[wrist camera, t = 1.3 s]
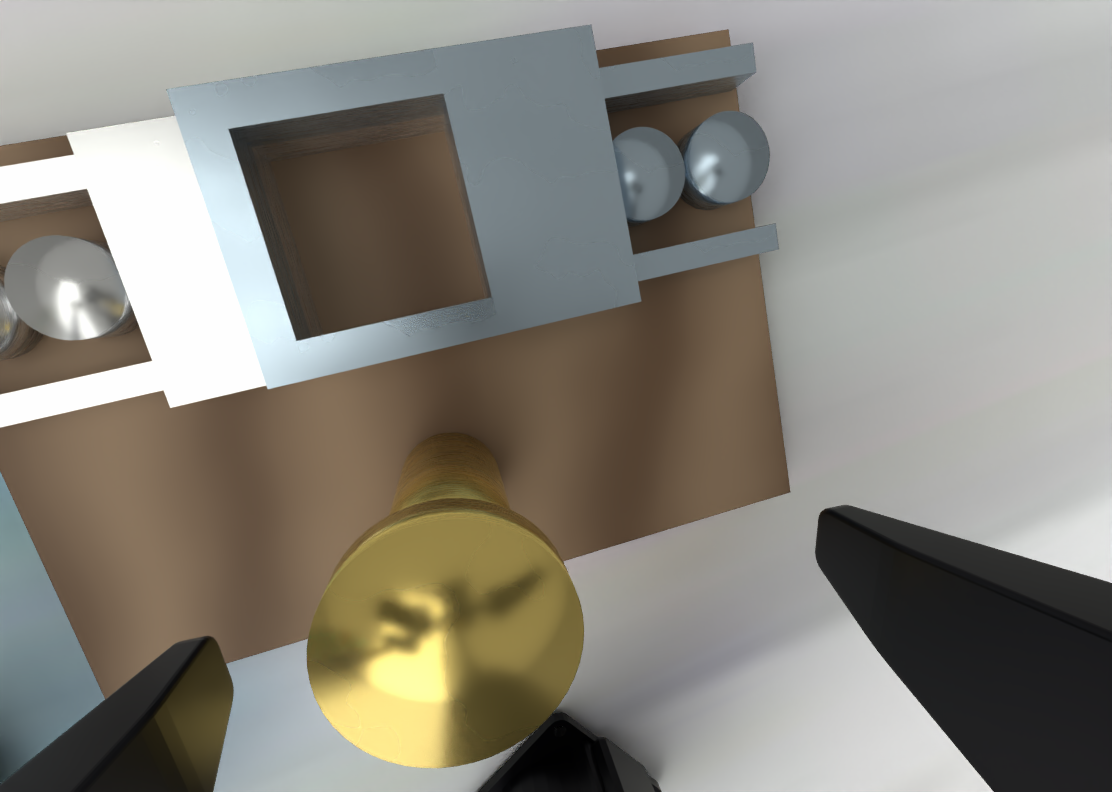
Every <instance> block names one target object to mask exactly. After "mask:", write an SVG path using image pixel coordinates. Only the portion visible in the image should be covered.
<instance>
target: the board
mask: <svg viewBox="0 0 1112 792" xmlns="http://www.w3.org/2000/svg"><path fill="white" fill-rule="evenodd" d="M729 46H731V45H730V37H729V30H721V31H715V32H709V33H703V34H696V35H690V36H684V37H678V38H671V39H665V40H659V41H653V42H646V43H640V44H634V45H628V46H621V47H615V48H609V49H603V50H596V54H597V59H598V65H599V68H602V67H608V66H614V65H620V64H626V63H633V62H639V61H645V60H651V59H657V58H663V57H669V56H675V55H681V54H687V53H693V52H699V51H705V50H711V49H717V48H723V47H729ZM723 111H738V112H739V105H738V97H737V90H736V88H735V89H733V90H732V91H729V92H724V93H718V94H713V95H707V96H701V97H696V98H690V99H685V100H679V101H673V102H668V103H662V104H657V105H651V106H645V107H640V108H634V109H629V110H623V111H617V112H612V113H607V115H608V120H609V126H610V131H611V137H612V141H613V140H614V139H615V138H616V137H617V136H618V135H620V134H621V133H623V132H624V131H626V130H629V129H631V128H635V127H650V128H654V129H657V130H659V131H661V132H663V133H664V134H666V135H667V136H668V137H669V138H671V139H672V140H673V142H674V143H675V144H676V145H677V144H678V142H679V141H680V140H681V138H682V137H683V136H684V135H686V134H687V133H688V132H690V131H691V130H692V129H694V128H695V127H697V126H698V125H699V124H701V123H702V122H704V121H705V120H706V119H708V118H709V117H711V116H712V115H714V114H716V113H719V112H723ZM69 155H74V153H73V150H72V148H71V145H70V142H69V140H68V137H67V135H65V136H59V137H53V138H46V139H40V140H34V141H28V142H21V143H15V144H9V145H3V146H0V167H3V166H9V165H15V164H21V163H27V162H33V161H39V160H45V159H51V158H57V157H63V156H69ZM271 166H272V169H273V172H274V175H275V178H276V182H277V185H278V188H279V191H280V195H281V198H282V201H283V204H284V208H285V211H286V214H287V217H288V221H289V224H290V227H291V230H292V234H293V237H294V240H295V243H296V246H297V250H298V253H299V256H300V259H301V263H302V266H303V269H304V272H305V276H306V279H307V282H308V285H309V289H310V292H311V295H312V298H313V302H314V305H315V308H316V311H317V314H318V318H319V321H320V324H321V327H322V331H323V334H327V333H332V332H336V331H341V330H345V329H350V328H354V327H359V326H363V325H367V324H372V323H376V322H381V321H385V320H390V319H394V318H399V317H403V316H408V315H412V314H417V313H421V312H426V311H430V310H434V309H439V308H443V307H448V306H452V305H457V304H461V303H466V302H470V301H475V300H479V299H484V298H485V296H484V292H483V288H482V284H481V280H480V276H479V271H478V267H477V263H476V259H475V255H474V251H473V247H472V242H471V238H470V234H469V230H468V226H467V222H466V218H465V214H464V209H463V205H462V201H461V197H460V193H459V189H458V185H457V180H456V176H455V172H454V168H453V164H452V160H451V156H450V152H449V147H448V143H447V139H446V135H445V131H443V132H438V133H432V134H426V135H420V136H415V137H409V138H403V139H398V140H392V141H386V142H381V143H375V144H369V145H363V146H358V147H352V148H346V149H341V150H335V151H329V152H324V153H318V154H312V155H307V156H301V157H295V158H289V159H284V160H278V161H272V162H271ZM753 228H755V224H754V217H753V209H752V202H751V195H750V196H748V197H747V198H745V199H742V200H740V201H737V202H734V203H731V204H728V205H725V206H723V207H720V208H717V209H713V210H701V209H697V208H694V207H692V206H690V205H688V204H687V203H686V202H685V201H683V200H682V199H681V197H679V199H678V201H677V202H676V204H675V205H674V206H673V207H672V208H671V209H670V210H669V211H668V212H667V213H665V214H663V215H662V216H660V217H657V218H655V219H653V220H650V221H648V222H645V223H643V224H640V225H637V226H632V227H628V230H629V236H630V241H631V247H632V252H633V255H635V254H639V253H644V252H648V251H653V250H657V249H662V248H667V247H671V246H676V245H680V244H685V243H689V242H694V241H698V240H703V239H707V238H712V237H716V236H721V235H725V234H730V233H734V232H739V231H743V230H748V229H753ZM51 235H61V236H69V237H75V238H81V239H86V240H92V241H98V242H104V243H108V242H107V240H106V237H105V235H104V232H103V229H102V227H101V224H100V221H99V219H98V216H97V214H96V211H95V208H94V206H93V205H91V206H85V207H80V208H74V209H68V210H63V211H57V212H52V213H46V214H40V215H35V216H29V217H24V218H18V219H12V220H7V221H1V222H0V266H2V267H5V268H6V266H7V264H8V262H9V260H10V258H11V257H12V255H13V254H14V253H15V252H16V251H17V249H18V248H20V247H21V246H22V245H24V244H25V243H27V242H29V241H31V240H33V239H36V238H39V237H43V236H51ZM638 285H639V291H640V296H641V302H637V303H633V304H629V305H625V306H620V307H616V308H612V309H608V310H603V311H599V312H595V313H590V314H586V315H582V316H578V317H573V318H569V319H565V320H561V321H556V322H552V323H548V324H544V325H539V326H535V327H531V328H527V329H522V330H518V331H514V332H510V333H505V334H501V335H497V336H493V337H488V338H484V339H480V340H476V341H471V342H467V343H463V344H459V345H454V346H450V347H446V348H442V349H437V350H433V351H429V352H425V353H420V354H416V355H412V356H408V357H403V358H399V359H395V360H391V361H386V362H382V363H378V364H373V365H369V366H365V367H361V368H356V369H352V370H348V371H344V372H339V373H335V374H331V375H327V376H322V377H318V378H314V379H310V380H305V381H301V382H297V383H293V384H288V385H284V386H280V387H276V388H271V389H267V386H262V387H257V388H253V389H249V390H245V391H240V392H236V393H232V394H227V395H223V396H219V397H215V398H210V399H206V400H202V401H198V402H193V403H189V404H185V405H180V406H176V407H172V408H170V406H169V403H168V400H167V398H166V395H165V392H164V390H162V391H157V392H153V393H149V394H144V395H140V396H135V397H131V398H127V399H122V400H118V401H114V402H109V403H105V404H101V405H96V406H92V407H87V408H83V409H79V410H74V411H70V412H66V413H61V414H57V415H52V416H48V417H44V418H39V419H35V420H31V421H26V422H22V423H18V424H13V425H9V426H4V427H0V472H1V474H2V476H3V478H4V480H5V482H6V485H7V487H8V489H9V491H10V493H11V495H12V498H13V500H14V502H15V504H16V506H17V508H18V511H19V513H20V515H21V517H22V519H23V521H24V524H25V526H26V528H27V530H28V532H29V535H30V537H31V539H32V541H33V543H34V545H35V548H36V550H37V552H38V554H39V556H40V558H41V561H42V563H43V565H44V567H45V569H46V571H47V574H48V576H49V578H50V580H51V582H52V584H53V587H54V589H55V591H56V593H57V595H58V597H59V600H60V602H61V604H62V606H63V608H64V611H65V613H66V615H67V617H68V619H69V621H70V624H71V626H72V628H73V630H74V632H75V634H76V637H77V639H78V641H79V643H80V645H81V647H82V650H83V652H84V654H85V656H86V658H87V660H88V663H89V665H90V667H91V669H92V671H93V674H94V676H95V678H96V680H97V682H98V684H99V687H100V689H101V691H102V693H103V695H104V697H105V699H106V698H108V697H109V696H110V695H111V694H113V693H114V692H115V691H116V690H118V689H119V688H120V687H121V686H123V685H124V684H125V683H126V682H128V681H129V680H130V679H131V678H132V677H134V676H135V675H136V674H137V673H139V672H140V671H141V670H142V669H144V668H145V667H146V666H147V665H149V664H150V663H151V662H152V661H154V660H155V659H156V658H157V657H158V656H160V655H161V654H162V653H163V652H165V651H166V650H167V649H168V648H170V647H171V646H172V645H174V644H175V643H177V642H179V641H183V640H188V639H193V638H198V637H202V636H211V637H214V638H215V640H216V641H217V643H218V644H219V647H220V650H221V652H222V655H223V658H224V660H225V663H229V662H233V661H236V660H239V659H243V658H246V657H249V656H252V655H256V654H259V653H262V652H266V651H269V650H272V649H275V648H279V647H282V646H285V645H289V644H292V643H295V642H299V641H302V640H305V639H308V637H309V631H310V628H311V624H312V621H313V617H314V614H315V612H316V610H317V607H318V605H319V603H320V601H321V598H322V596H323V594H324V591H325V589H326V587H327V584H328V582H329V580H330V578H331V575H332V573H333V571H334V569H335V567H336V566H337V564H338V563H339V561H340V559H341V558H342V556H343V555H344V553H345V552H346V551H347V550H348V549H349V547H350V546H351V545H352V544H353V543H354V542H355V541H356V540H357V539H358V538H359V537H360V536H361V535H362V534H363V533H364V532H365V531H366V530H368V529H369V528H370V527H372V526H373V525H375V524H376V523H377V522H379V521H380V520H382V519H384V518H385V517H387V516H389V514H390V511H391V507H392V504H393V500H394V497H395V493H396V489H397V486H398V482H399V479H400V475H401V472H402V469H403V465H404V463H405V461H406V459H407V457H408V455H409V454H410V453H411V451H412V450H413V449H414V448H415V447H416V446H417V445H418V444H420V443H421V442H422V441H424V440H426V439H427V438H429V437H432V436H434V435H438V434H442V433H462V434H465V435H469V436H471V437H474V438H475V439H477V440H479V441H480V442H482V443H483V444H484V445H485V446H486V447H487V448H488V449H489V450H490V451H491V453H492V454H493V456H494V458H495V460H496V462H497V465H498V468H499V472H500V475H501V479H502V482H503V485H504V489H505V492H506V496H507V499H508V502H509V506H510V509H511V510H513V511H514V512H516V513H518V514H520V515H522V516H524V517H525V518H526V519H528V520H529V521H530V522H532V523H533V524H535V525H536V526H537V527H538V528H539V529H540V530H541V531H542V532H543V533H544V534H545V535H546V536H547V537H548V538H549V540H550V541H551V542H552V544H553V545H554V546H555V548H556V549H557V551H558V553H559V555H560V556H561V558H562V560H563V561H565V560H569V559H572V558H575V557H579V556H582V555H585V554H588V553H592V552H595V551H598V550H602V549H605V548H608V547H611V546H615V545H618V544H621V543H625V542H628V541H631V540H635V539H638V538H641V537H644V536H648V535H651V534H654V533H658V532H661V531H664V530H667V529H671V528H674V527H677V526H681V525H684V524H687V523H691V522H694V521H697V520H700V519H704V518H707V517H710V516H714V515H717V514H720V513H723V512H727V511H730V510H733V509H737V508H740V507H743V506H747V505H750V504H753V503H756V502H760V501H763V500H766V499H770V498H773V497H776V496H779V495H783V494H786V493H789V492H790V486H789V478H788V471H787V463H786V456H785V448H784V441H783V433H782V426H781V418H780V411H779V403H778V396H777V389H776V381H775V374H774V366H773V359H772V351H771V344H770V336H769V329H768V321H767V314H766V306H765V299H764V291H763V284H762V276H761V269H760V261H759V254H756V255H751V256H747V257H743V258H738V259H734V260H729V261H725V262H721V263H716V264H712V265H708V266H703V267H699V268H695V269H690V270H686V271H681V272H677V273H673V274H668V275H664V276H660V277H655V278H651V279H646V280H642V281H638ZM151 361H152V358H151V356H150V353H149V350H148V348H147V345H146V342H145V340H144V337H143V335H142V332H141V329H140V327H139V328H137V329H136V330H134V331H132V332H130V333H127V334H124V335H121V336H114V337H105V338H95V339H85V340H62V339H56V338H53V337H50V336H47V335H44V334H43V336H42V338H41V340H40V341H39V343H38V344H37V345H36V346H35V347H34V348H33V349H31V350H30V351H29V352H27V353H25V354H24V355H21V356H19V357H16V358H12V359H7V360H0V395H1V394H6V393H10V392H15V391H19V390H24V389H28V388H33V387H37V386H42V385H46V384H51V383H56V382H60V381H65V380H69V379H74V378H78V377H83V376H87V375H92V374H96V373H101V372H105V371H110V370H114V369H119V368H123V367H128V366H132V365H137V364H142V363H146V362H151Z"/></svg>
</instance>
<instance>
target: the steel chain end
mask: <svg viewBox="0 0 1112 792" xmlns="http://www.w3.org/2000/svg"><path fill="white" fill-rule="evenodd" d="M443 131H445V135H446V139H447V143H448V147H449V152H450V156H451V160H452V164H453V168H454V172H455V176H456V180H457V185H458V189H459V193H460V197H461V201H462V205H463V209H464V214H465V218H466V222H467V226H468V230H469V234H470V238H471V242H472V247H473V251H474V255H475V259H476V263H477V267H478V271H479V276H480V280H481V284H482V288H483V292H484V296H485V298H488V295H487V290H486V286H485V282H484V278H483V274H482V270H481V265H480V261H479V257H478V253H477V249H476V245H475V241H474V236H473V232H472V228H471V224H470V220H469V216H468V211H467V207H466V203H465V199H464V195H463V191H462V187H461V182H460V178H459V174H458V170H457V166H456V162H455V157H454V153H453V149H452V145H451V141H450V137H449V133H448V128H447V124H446V120H445V116H444V114H442V115H436V116H431V117H425V118H419V119H413V120H407V121H401V122H395V123H390V124H384V125H378V126H372V127H366V128H360V129H354V130H349V131H343V132H337V133H331V134H325V135H319V136H314V137H308V138H302V139H296V140H290V141H284V142H278V143H273V144H267V145H261V146H255V147H252V150H253V153H254V156H255V160H256V163H257V166H258V169H259V172H260V176H261V179H262V182H263V185H264V188H265V191H266V195H267V198H268V201H269V204H270V207H271V211H272V214H273V217H274V220H275V223H276V226H277V230H278V233H279V236H280V239H281V242H282V246H283V249H284V252H285V255H286V258H287V262H288V265H289V268H290V271H291V274H292V277H293V281H294V284H295V287H296V290H297V293H298V297H299V300H300V303H301V306H302V309H303V312H304V316H305V319H306V322H307V325H308V328H309V332H310V335H311V337H315V336H320V335H324V334H323V331H322V327H321V324H320V321H319V318H318V314H317V311H316V308H315V305H314V302H313V298H312V295H311V292H310V289H309V285H308V282H307V279H306V276H305V272H304V269H303V266H302V263H301V259H300V256H299V253H298V250H297V246H296V243H295V240H294V237H293V234H292V230H291V227H290V224H289V221H288V217H287V214H286V211H285V208H284V204H283V201H282V198H281V195H280V191H279V188H278V185H277V182H276V178H275V175H274V172H273V169H272V166H271V162H272V161H278V160H284V159H289V158H295V157H301V156H307V155H312V154H318V153H324V152H329V151H335V150H341V149H346V148H352V147H358V146H363V145H369V144H375V143H381V142H386V141H392V140H398V139H403V138H409V137H415V136H420V135H426V134H432V133H438V132H443ZM66 135H67V137H68V140H69V142H70V145H71V148H72V150H73V153H74V155H69V156H63V157H57V158H51V159H45V160H39V161H33V162H27V163H21V164H15V165H9V166H3V167H0V222H1V221H7V220H12V219H18V218H24V217H29V216H35V215H40V214H46V213H52V212H57V211H63V210H68V209H74V208H80V207H85V206H91V205H93V206H94V208H95V211H96V214H97V216H98V219H99V221H100V224H101V227H102V229H103V232H104V235H105V237H106V240H107V242H108V243H104V242H98V241H92V240H86V239H81V238H75V237H69V236H61V235H51V236H43V237H39V238H36V239H33V240H31V241H29V242H27V243H25V244H24V245H22V246H21V247H20V248H18V249H17V251H16V252H15V253H14V254H13V255H12V257H11V258H10V260H9V262H8V264H7V266H6V268H5V267H2V266H0V360H7V359H12V358H16V357H19V356H21V355H24V354H25V353H27V352H29V351H30V350H31V349H33V348H34V347H35V346H36V345H37V344H38V343H39V341H40V340H41V338H42V336H43V334H44V335H47V336H50V337H53V338H56V339H62V340H85V339H95V338H105V337H114V336H121V335H124V334H127V333H130V332H132V331H134V330H136V329H137V328H139V327H140V329H141V332H142V335H143V337H144V340H145V342H146V345H147V348H148V350H149V353H150V356H151V358H152V361H151V362H146V363H142V364H137V365H132V366H128V367H123V368H119V369H114V370H110V371H105V372H101V373H96V374H92V375H87V376H83V377H78V378H74V379H69V380H65V381H60V382H56V383H51V384H46V385H42V386H37V387H33V388H28V389H24V390H19V391H15V392H10V393H6V394H1V395H0V427H4V426H9V425H13V424H18V423H22V422H26V421H31V420H35V419H39V418H44V417H48V416H52V415H57V414H61V413H66V412H70V411H74V410H79V409H83V408H87V407H92V406H96V405H101V404H105V403H109V402H114V401H118V400H122V399H127V398H131V397H135V396H140V395H144V394H149V393H153V392H157V391H162V390H164V392H165V395H166V398H167V400H168V403H169V406H170V408H172V407H176V406H180V405H185V404H189V403H193V402H198V401H202V400H206V399H210V398H215V397H219V396H223V395H227V394H232V393H236V392H240V391H245V390H249V389H253V388H257V387H262V386H266V383H265V380H264V377H263V374H262V371H261V368H260V365H259V362H258V359H257V356H256V353H255V350H254V347H253V344H252V341H251V338H250V335H249V332H248V329H247V326H246V323H245V321H244V318H243V315H242V312H241V309H240V306H239V303H238V300H237V297H236V294H235V291H234V288H233V285H232V282H231V279H230V276H229V273H228V270H227V267H226V264H225V261H224V258H223V255H222V252H221V250H220V247H219V244H218V241H217V238H216V235H215V232H214V229H213V226H212V223H211V220H210V217H209V214H208V211H207V208H206V205H205V202H204V199H203V196H202V193H201V190H200V187H199V184H198V181H197V179H196V176H195V173H194V170H193V167H192V164H191V161H190V158H189V155H188V152H187V149H186V146H185V143H184V140H183V137H182V134H181V131H180V128H179V125H178V122H177V119H176V116H170V117H164V118H157V119H151V120H145V121H138V122H132V123H126V124H120V125H113V126H107V127H101V128H95V129H88V130H82V131H76V132H69V133H66ZM485 298H484V299H485ZM479 300H481V299H479ZM475 301H476V300H475ZM470 302H472V301H470ZM466 303H467V302H466ZM461 304H463V303H461ZM457 305H458V304H457ZM452 306H454V305H452ZM448 307H449V306H448ZM443 308H445V307H443ZM439 309H440V308H439ZM434 310H436V309H434ZM430 311H431V310H430ZM426 312H427V311H426ZM421 313H422V312H421ZM417 314H418V313H417ZM412 315H414V314H412ZM408 316H409V315H408ZM403 317H405V316H403ZM399 318H400V317H399ZM394 319H396V318H394ZM390 320H391V319H390ZM385 321H387V320H385ZM381 322H382V321H381ZM376 323H378V322H376ZM372 324H373V323H372ZM367 325H369V324H367ZM363 326H364V325H363ZM359 327H360V326H359ZM354 328H355V327H354ZM350 329H351V328H350ZM345 330H347V329H345ZM341 331H342V330H341ZM336 332H338V331H336ZM332 333H333V332H332ZM327 334H329V333H327Z"/></svg>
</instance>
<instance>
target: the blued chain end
mask: <svg viewBox="0 0 1112 792" xmlns="http://www.w3.org/2000/svg"><path fill="white" fill-rule="evenodd" d="M755 73H756V64H755V56H754V48H753V43H748V44H742V45H735V46H729V47H723V48H717V49H711V50H705V51H699V52H693V53H687V54H681V55H675V56H669V57H663V58H657V59H651V60H645V61H639V62H633V63H626V64H620V65H614V66H608V67H602V68H599V65H598V59H597V54H596V48H595V43H594V37H593V32H592V26H591V25H585V26H578V27H572V28H565V29H559V30H552V31H545V32H539V33H532V34H526V35H519V36H513V37H506V38H499V39H493V40H486V41H480V42H473V43H467V44H460V45H454V46H447V47H440V48H434V49H427V50H421V51H414V52H408V53H401V54H394V55H388V56H381V57H375V58H368V59H362V60H355V61H348V62H342V63H335V64H329V65H322V66H316V67H309V68H303V69H296V70H289V71H283V72H276V73H270V74H263V75H257V76H250V77H243V78H237V79H230V80H224V81H217V82H211V83H204V84H197V85H191V86H184V87H178V88H171V89H166V90H167V93H168V96H169V99H170V102H171V105H172V108H173V110H174V113H175V116H176V119H177V122H178V125H179V128H180V131H181V134H182V137H183V140H184V143H185V146H186V149H187V152H188V155H189V158H190V161H191V164H192V167H193V170H194V173H195V176H196V179H197V181H198V184H199V187H200V190H201V193H202V196H203V199H204V202H205V205H206V208H207V211H208V214H209V217H210V220H211V223H212V226H213V229H214V232H215V235H216V238H217V241H218V244H219V247H220V250H221V252H222V255H223V258H224V261H225V264H226V267H227V270H228V273H229V276H230V279H231V282H232V285H233V288H234V291H235V294H236V297H237V300H238V303H239V306H240V309H241V312H242V315H243V318H244V321H245V323H246V326H247V329H248V332H249V335H250V338H251V341H252V344H253V347H254V350H255V353H256V356H257V359H258V362H259V365H260V368H261V371H262V374H263V377H264V380H265V383H266V386H267V389H271V388H276V387H280V386H284V385H288V384H293V383H297V382H301V381H305V380H310V379H314V378H318V377H322V376H327V375H331V374H335V373H339V372H344V371H348V370H352V369H356V368H361V367H365V366H369V365H373V364H378V363H382V362H386V361H391V360H395V359H399V358H403V357H408V356H412V355H416V354H420V353H425V352H429V351H433V350H437V349H442V348H446V347H450V346H454V345H459V344H463V343H467V342H471V341H476V340H480V339H484V338H488V337H493V336H497V335H501V334H505V333H510V332H514V331H518V330H522V329H527V328H531V327H535V326H539V325H544V324H548V323H552V322H556V321H561V320H565V319H569V318H573V317H578V316H582V315H586V314H590V313H595V312H599V311H603V310H608V309H612V308H616V307H620V306H625V305H629V304H633V303H637V302H641V296H640V291H639V285H638V281H642V280H646V279H651V278H655V277H660V276H664V275H668V274H673V273H677V272H681V271H686V270H690V269H695V268H699V267H703V266H708V265H712V264H716V263H721V262H725V261H729V260H734V259H738V258H743V257H747V256H751V255H756V254H760V253H764V252H769V251H773V250H778V249H779V247H778V239H777V231H776V223H775V224H771V225H766V226H762V227H757V228H753V229H748V230H743V231H739V232H734V233H730V234H725V235H721V236H716V237H712V238H707V239H703V240H698V241H694V242H689V243H685V244H680V245H676V246H671V247H667V248H662V249H657V250H653V251H648V252H644V253H639V254H635V255H633V252H632V247H631V241H630V236H629V230H628V227H632V226H637V225H640V224H643V223H645V222H648V221H650V220H653V219H655V218H657V217H660V216H662V215H663V214H665V213H667V212H668V211H669V210H670V209H671V208H672V207H673V206H674V205H675V204H676V202H677V201H678V199H679V197H681V199H682V200H683V201H685V202H686V203H687V204H688V205H690V206H692V207H694V208H697V209H701V210H713V209H717V208H720V207H723V206H725V205H728V204H731V203H734V202H737V201H740V200H742V199H745V198H747V197H748V196H750V195H751V194H752V193H754V192H755V191H756V190H757V189H758V188H759V186H760V185H761V183H762V182H763V180H764V178H765V176H766V173H767V170H768V166H769V158H770V154H769V145H768V141H767V138H766V136H765V133H764V132H763V130H762V128H761V127H760V126H759V124H758V123H757V122H756V121H755V120H754V119H753V118H751V117H750V116H748V115H746V114H744V113H742V112H738V111H723V112H719V113H716V114H714V115H712V116H711V117H709V118H708V119H706V120H705V121H704V122H702V123H701V124H699V125H698V126H697V127H695V128H694V129H692V130H691V131H690V132H688V133H687V134H686V135H684V136H683V137H682V138H681V140H680V141H679V142H678V144H677V145H676V144H675V143H674V142H673V140H672V139H671V138H669V137H668V136H667V135H666V134H664V133H663V132H661V131H659V130H657V129H654V128H650V127H635V128H631V129H629V130H626V131H624V132H623V133H621V134H620V135H618V136H617V137H616V138H615V139H614V140H613V141H612V137H611V131H610V126H609V120H608V115H607V113H612V112H617V111H623V110H629V109H634V108H640V107H645V106H651V105H657V104H662V103H668V102H673V101H679V100H685V99H690V98H696V97H701V96H707V95H713V94H718V93H724V92H729V91H732V90H733V89H735V88H736V87H737V86H739V85H740V84H741V83H743V82H744V81H745V80H747V79H748V78H749V77H751V76H752V75H753V74H755ZM442 114H444V116H445V120H446V124H447V128H448V133H449V137H450V141H451V145H452V149H453V153H454V157H455V162H456V166H457V170H458V174H459V178H460V182H461V187H462V191H463V195H464V199H465V203H466V207H467V211H468V216H469V220H470V224H471V228H472V232H473V236H474V241H475V245H476V249H477V253H478V257H479V261H480V265H481V270H482V274H483V278H484V282H485V286H486V290H487V295H488V298H485V299H481V300H476V301H472V302H467V303H463V304H458V305H454V306H449V307H445V308H440V309H436V310H431V311H427V312H422V313H418V314H414V315H409V316H405V317H400V318H396V319H391V320H387V321H382V322H378V323H373V324H369V325H364V326H360V327H355V328H351V329H347V330H342V331H338V332H333V333H329V334H324V335H320V336H315V337H311V335H310V332H309V328H308V325H307V322H306V319H305V316H304V312H303V309H302V306H301V303H300V300H299V297H298V293H297V290H296V287H295V284H294V281H293V277H292V274H291V271H290V268H289V265H288V262H287V258H286V255H285V252H284V249H283V246H282V242H281V239H280V236H279V233H278V230H277V226H276V223H275V220H274V217H273V214H272V211H271V207H270V204H269V201H268V198H267V195H266V191H265V188H264V185H263V182H262V179H261V176H260V172H259V169H258V166H257V163H256V160H255V156H254V153H253V150H252V147H255V146H261V145H267V144H273V143H278V142H284V141H290V140H296V139H302V138H308V137H314V136H319V135H325V134H331V133H337V132H343V131H349V130H354V129H360V128H366V127H372V126H378V125H384V124H390V123H395V122H401V121H407V120H413V119H419V118H425V117H431V116H436V115H442Z"/></svg>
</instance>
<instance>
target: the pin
mask: <svg viewBox="0 0 1112 792" xmlns="http://www.w3.org/2000/svg"><path fill="white" fill-rule="evenodd" d="M583 640H584V624H583V614H582V610H581V605H580V601H579V598H578V595H577V593H576V590H575V587H574V585H573V583H572V581H571V578H570V576H569V574H568V571H567V569H566V567H565V565H564V562H563V560H562V558H561V556H560V555H559V553H558V551H557V549H556V548H555V546H554V545H553V544H552V542H551V541H550V540H549V538H548V537H547V536H546V535H545V534H544V533H543V532H542V531H541V530H540V529H539V528H538V527H537V526H536V525H535V524H533V523H532V522H530V521H529V520H528V519H526V518H525V517H524V516H522V515H520V514H518V513H516V512H514V511H513V510H511V509H510V506H509V502H508V499H507V496H506V492H505V489H504V485H503V482H502V479H501V475H500V472H499V468H498V465H497V462H496V460H495V458H494V456H493V454H492V453H491V451H490V450H489V449H488V448H487V447H486V446H485V445H484V444H483V443H482V442H480V441H479V440H477V439H475V438H474V437H471V436H469V435H465V434H462V433H442V434H438V435H434V436H432V437H429V438H427V439H426V440H424V441H422V442H421V443H420V444H418V445H417V446H416V447H415V448H414V449H413V450H412V451H411V453H410V454H409V455H408V457H407V459H406V461H405V463H404V465H403V469H402V472H401V475H400V479H399V482H398V486H397V489H396V493H395V497H394V500H393V504H392V507H391V511H390V514H389V516H387V517H385V518H384V519H382V520H380V521H379V522H377V523H376V524H375V525H373V526H372V527H370V528H369V529H368V530H366V531H365V532H364V533H363V534H362V535H361V536H360V537H359V538H358V539H357V540H356V541H355V542H354V543H353V544H352V545H351V546H350V547H349V549H348V550H347V551H346V552H345V553H344V555H343V556H342V558H341V559H340V561H339V563H338V564H337V566H336V567H335V569H334V571H333V573H332V575H331V578H330V580H329V582H328V584H327V587H326V589H325V591H324V594H323V596H322V598H321V601H320V603H319V605H318V607H317V610H316V612H315V614H314V617H313V621H312V624H311V628H310V631H309V637H308V644H307V669H308V675H309V680H310V684H311V687H312V690H313V693H314V696H315V699H316V701H317V703H318V705H319V706H320V708H321V710H322V712H323V714H324V715H325V716H326V718H327V719H328V720H329V722H330V723H331V724H332V726H333V727H334V728H335V729H336V730H337V731H338V732H339V733H340V734H341V735H342V736H343V737H344V738H345V739H347V740H348V741H350V742H351V743H352V744H354V745H355V746H356V747H358V748H359V749H361V750H363V751H365V752H367V753H369V754H371V755H372V756H375V757H377V758H380V759H383V760H385V761H388V762H391V763H396V764H400V765H404V766H410V767H419V768H445V767H454V766H460V765H465V764H469V763H474V762H477V761H480V760H483V759H486V758H489V757H492V756H494V755H496V754H498V753H500V752H502V751H504V750H507V749H508V748H510V747H512V746H513V745H515V744H517V743H518V742H520V741H522V740H523V739H524V738H526V737H527V736H528V735H530V734H531V733H532V732H534V731H535V730H536V729H537V728H538V727H539V726H540V725H541V724H542V723H543V722H544V721H546V720H547V719H548V717H549V716H550V715H551V714H552V713H553V711H554V710H555V709H556V708H557V707H558V706H559V704H560V702H561V701H562V699H563V698H564V696H565V695H566V693H567V692H568V690H569V688H570V686H571V684H572V682H573V680H574V678H575V675H576V672H577V669H578V666H579V663H580V659H581V654H582V650H583Z"/></svg>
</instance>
